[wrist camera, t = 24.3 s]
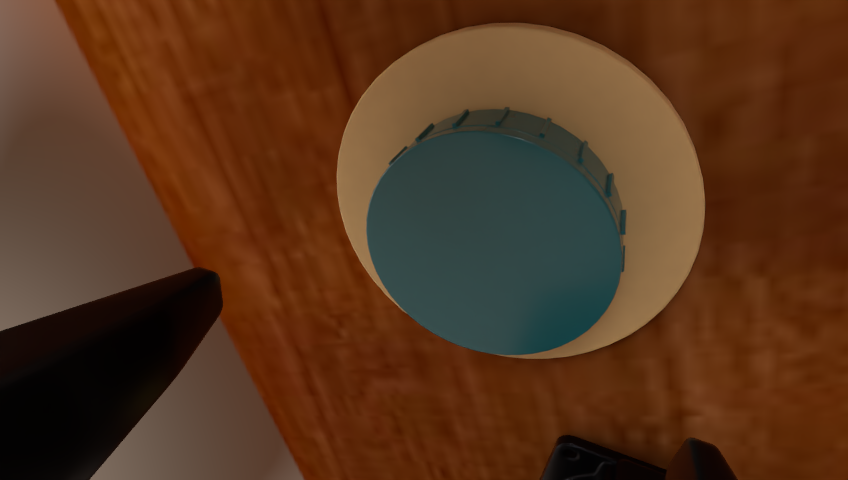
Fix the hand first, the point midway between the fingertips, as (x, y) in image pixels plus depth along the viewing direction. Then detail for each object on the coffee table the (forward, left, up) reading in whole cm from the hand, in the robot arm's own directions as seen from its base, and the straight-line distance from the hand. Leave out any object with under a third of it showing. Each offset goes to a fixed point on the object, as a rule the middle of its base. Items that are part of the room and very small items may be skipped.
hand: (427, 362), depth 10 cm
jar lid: (0, 0, -5) cm, 5 cm away
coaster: (0, 0, -6) cm, 6 cm away
